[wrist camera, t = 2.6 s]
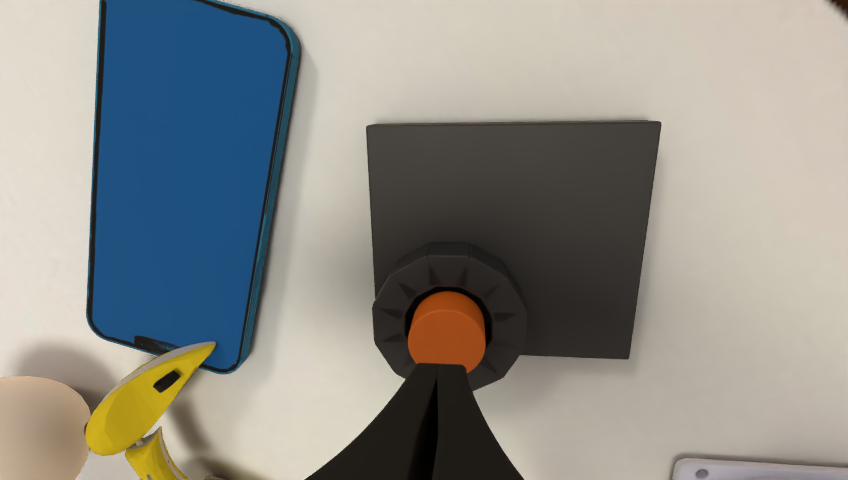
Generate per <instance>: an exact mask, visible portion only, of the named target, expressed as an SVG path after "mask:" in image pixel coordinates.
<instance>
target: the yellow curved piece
mask: <svg viewBox="0 0 848 480" xmlns="http://www.w3.org/2000/svg"><path fill="white" fill-rule="evenodd" d="M215 346H216V342H214V341H211V342H203V343H198V344H193V345H189V346H185V347H182V348H178V349H175V350H172V351H170V352H167V353H165V354H163V355H161V356H159V357H157V358H155V359H153V360H152V361H150V362H148V363H146V364H144V365H143V366H141V367H139V368H138V369H136V370H135V371H133V372H132V373H131V374H129V375H128V376H127V377H125V378H124V379H122V380H121V381H120V382H119V383H118V384H117V385H116V386H115V387H114V388H113V389H112V390H111V391H110V392H109V393H107V395H106V396H105V397H104V399H103V400H102V401H101V403H100V404H99V405H98V407H97V408H96V409H95V411H94V412H93V414H92V416H91V417H90V419H89V420H88V422H87V423H86V424H85V426H84V434H85V438H86V441H87V444H88V446H89V448H90V449H91V450H92V451H93V452H94V453H96V454H99V455H114V454H116V453H119V452H122V451H124V450H125V449H126V451H125V455H126V458H127V460H128V461H129V463H130V464H131V466H132V467H133V468H134V470H135V471H136V473H137V474H138V475H139V477H140V479H141V480H189V479H188V478H187V477H186V476H185V475H184V474H183V473H182V472H181V471H180V470H179V469H178V468H177V467H176V465H175V464H174V462H173V461H172V459H171V457H170V456H169V454H168V451H167V449H166V446H165V443H164V441H163V436H162V427H161V426H160V427H159V428H158V429H157V430H156V431H155V433H153V434H151V435H149V436H147V437H145V438H142V437H143V436H144V435H145V434H146V433H147V432H148V431H149V430H150V429H151V427H152V426H153V425H154V424H155V423H156V422H157V420H158V419H159V418H160V417H161V415H162V414H163V413H164V411H165V410H166V409H167V407H168V406H169V405H170V404H171V402H172V401H173V399H174V398H175V397H176V395H177V394H178V393H179V391H180V390H181V389H182V387H183V386H184V385H185V383H186V382H187V381H188V379H189V378H190V377H191V375H192V374H193V373H194V371H195V370H196V369H197V368H198V367H199V366H200V364H201V363H202V362H203V361H204V360H205V359H206V358H207V357H208V356H209V355H210V354H211V353H212V351H213V350H214V348H215ZM204 480H225V479H222V478H218V477H215V476H208V477H206V478H205V479H204Z"/></svg>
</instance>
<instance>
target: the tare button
mask: <svg viewBox="0 0 848 480" xmlns="http://www.w3.org/2000/svg"><path fill="white" fill-rule="evenodd" d="M485 346H486V343H485V326H484V317H483V314H482V312H481V310H480V308H479V307H478V305H477V304H476V303H475V302H474V301H473V300H471V299H470V298H469V297H467V296H465V295H463V294H460V293H457V292H451V291H443V292H438V293H435V294H432V295H430V296H428V297H427V298H425V299H424V300H423V301H422V302H421V303H420V304H419V305H418V307H417V309H416V311H415V313H414V317H413V320H412V324H411V328H410V331H409V335H408V348H409V351H410V354H411V356H412V358H413V360H414V361H415V362H416V364H417V363H439V364H462V365H463V366H464V367H465V368H466V371H467V373H469V372H470V371H472V370H473V369H474V368H475V367H476V366H477V365H478V364H479V363H480V361H481V360H482V358H483V356H484V352H485Z"/></svg>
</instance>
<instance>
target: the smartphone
mask: <svg viewBox="0 0 848 480" xmlns="http://www.w3.org/2000/svg"><path fill="white" fill-rule="evenodd" d="M299 55H300V48H299V43H298V40H297V37H296V35H295V34H294V32H293V31H292V29H291V28H290V27H289V26H288V25H287V24H286V23H284V22H282V21H281V20H279V19H277V18H275V17H272V16H270V15H267V14H263V13H260V12H256V11H253V10H249V9H245V8H242V7H238V6H235V5H231V4H227V3H224V2H220V1H217V0H100V2H99V26H98V49H97V73H96V96H95V120H94V143H93V167H92V190H91V214H90V237H89V261H88V284H87V308H86V317H87V321H88V324H89V326H90V328H91V329H92V331H93V332H94V333H95V334H96V335H97V336H99V337H100V338H102V339H104V340H107V341H110V342H113V343H117V344H120V345H123V346H127V347H130V348H133V349H137V350H140V351H144V352H147V353H150V354H154V355H157V356H161V355H163V354H165V353H167V352H170V351H172V350H175V349H178V348H182V347H185V346H189V345H193V344H198V343H203V342H211V341H214V342H216V346H215V348H214V350H213V351H212V353H211V354H210V355H209V356H208V357H207V358H206V359H205V360H204V361H203V362H202V363H201V364H200V366H199V367H198V368H201V369H204V370H207V371H211V372H214V373H218V374H229V373H232V372H234V371H236V370H237V369H238V368H239V367H240V366H241V365H242V364H243V362H244V361H245V360H246V359H247V357H248V355H249V349H250V344H251V338H252V332H253V326H254V320H255V314H256V308H257V303H258V297H259V291H260V285H261V279H262V273H263V267H264V262H265V256H266V250H267V244H268V238H269V232H270V226H271V220H272V215H273V209H274V203H275V197H276V191H277V185H278V179H279V174H280V168H281V162H282V156H283V150H284V144H285V138H286V133H287V127H288V121H289V115H290V109H291V103H292V97H293V92H294V86H295V80H296V74H297V68H298V62H299Z"/></svg>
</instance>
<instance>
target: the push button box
mask: <svg viewBox="0 0 848 480" xmlns="http://www.w3.org/2000/svg"><path fill="white" fill-rule="evenodd" d="M660 131H661V122H659V121H648V120H626V121H552V122H479V123H406V124H372V125H368V126H367V127H366V135H367V154H368V172H369V191H370V209H371V228H372V246H373V265H374V283H375V301H374V303H373V307H372V313H373V330H374V341H375V344H376V346H377V347H378V349H379V350H380V352H381V353H382V355H383V356H384V358H385V359H386V361H387V362H388V364H389V365H390V367H391V368H392V370H393V371H394V372H395V373H396V374H397V375H399V376H401V377H403V378H405V379H406V378H407V377H408V375H409V374H410V372H411V371H412V369H413V367H414V366H415V365H416V362H415V361H414V360H413V358H412V356H411V354H410V351H409V348H408V335H409V331H410V328H411V324H412V320H413V317H414V313H415V311H416V309H417V307H418V305H419V304H420V303H421V302H422V301H423V300H424V299H425V298H427V297H428V296H430V295H432V294H435V293H438V292H443V291H451V292H457V293H460V294H463V295H465V296H467V297H469V298H470V299H471V300H473V301H474V302H475V303H476V304H477V305H478V307H479V308H480V310H481V312H482V314H483V317H484V326H485V343H486V346H485V352H484V356H483V358H482V360H481V361H480V363H479V364H478V365H477V366H476V367H475V368H474V369H473V370H472V371H470V372H469V373H467V377H468V380H469V384H470V387H471V389H472V391H475V390H477V389H479V388H481V387H484V386H486V385H488V384H491V383H493V382H495V381H497V380H500V379H501V378H503V377H504V376H505V375H506V373H507V372H508V370H509V369H510V368H511V366H512V365H513V364H514V362H515V361H516V360H517V358H518V357H519V356H520V355H532V356H556V357H581V358H605V359H629V355H630V348H631V341H632V334H633V326H634V319H635V312H636V305H637V297H638V290H639V283H640V276H641V268H642V261H643V254H644V247H645V239H646V232H647V225H648V218H649V210H650V203H651V196H652V189H653V181H654V174H655V167H656V160H657V152H658V145H659V138H660Z"/></svg>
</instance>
